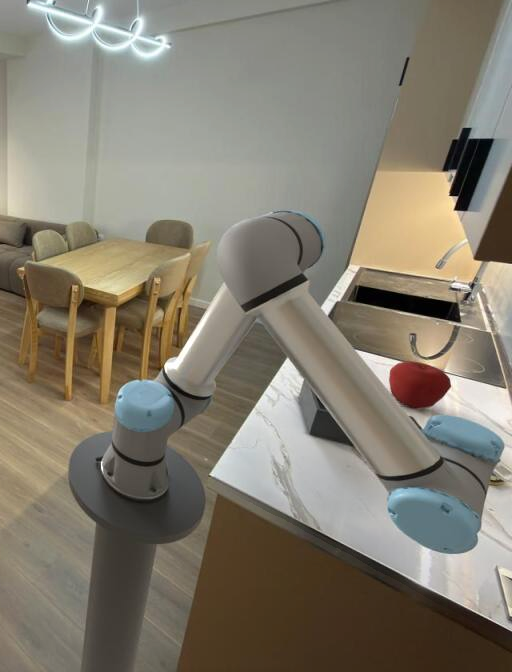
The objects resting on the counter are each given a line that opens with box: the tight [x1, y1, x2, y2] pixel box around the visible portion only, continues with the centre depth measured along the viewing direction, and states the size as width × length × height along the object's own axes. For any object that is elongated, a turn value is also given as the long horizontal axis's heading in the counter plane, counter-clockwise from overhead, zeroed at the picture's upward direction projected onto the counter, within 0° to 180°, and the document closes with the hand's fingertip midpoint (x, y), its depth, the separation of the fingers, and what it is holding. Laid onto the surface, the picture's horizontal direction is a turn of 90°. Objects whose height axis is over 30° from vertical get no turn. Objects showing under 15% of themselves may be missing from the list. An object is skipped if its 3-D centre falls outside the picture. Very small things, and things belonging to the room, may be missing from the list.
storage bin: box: [298, 379, 355, 447], centre depth 105 cm, size 18×18×8 cm
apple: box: [388, 360, 452, 410], centre depth 112 cm, size 12×12×13 cm
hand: (366, 395), depth 89 cm, fingers closed on flask, 3 cm apart
